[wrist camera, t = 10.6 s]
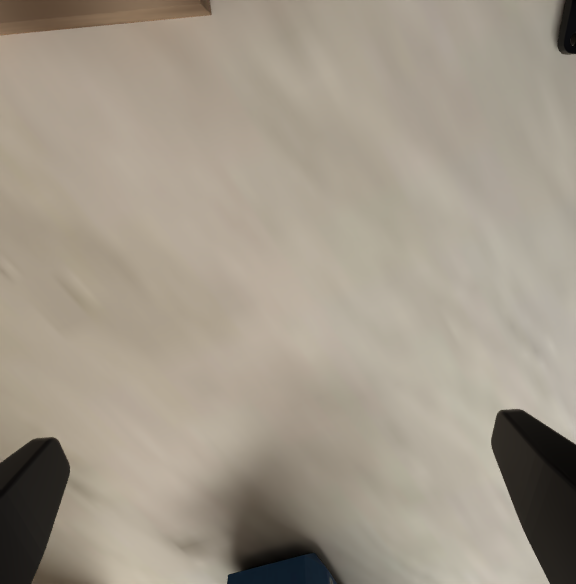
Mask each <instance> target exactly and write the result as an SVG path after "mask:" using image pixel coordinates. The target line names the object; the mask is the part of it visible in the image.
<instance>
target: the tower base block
mask: <svg viewBox="0 0 576 584" xmlns="http://www.w3.org/2000/svg"><path fill="white" fill-rule="evenodd" d="M206 15H211V8H210V1H209V0H0V35H9V34H20V33H30V32H40V31H51V30H61V29H71V28H82V27H92V26H102V25H113V24H123V23H134V22H144V21H154V20H165V19H175V18H185V17H196V16H206Z"/></svg>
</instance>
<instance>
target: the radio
mask: <svg viewBox="0 0 576 584" xmlns="http://www.w3.org/2000/svg"><path fill="white" fill-rule="evenodd" d="M227 584H337V583H336V581H335V580H334V578H333V577H332V575H331V574H330V572H329V571H328V569H327V568H326V567H325V565H324V564H323V563H322V562H321V560H320V559H319V558H318V557H317V555H316V554H315V553H311V554H306V555H302V556H298V557H294V558H291V559H287V560H283V561H279V562H275V563H271V564H267V565H264V566H260V567H256V568H252V569H248V570H244V571H240V572H237V573H233V574H229V575H228V581H227Z"/></svg>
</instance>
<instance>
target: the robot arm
mask: <svg viewBox="0 0 576 584" xmlns="http://www.w3.org/2000/svg"><path fill="white" fill-rule="evenodd" d="M574 33H575V34H576V0H566V3H565V8H564V13H563V18H562V23H561V28H560V33H559V38H558V49H559V51H560V52H561V53H562V54H566V55H569V54H576V43H575V44H574V45H573V46H572V45H571V44H570V39H571V37H572V35H573V34H574ZM491 445H492V450H493V453H494V455H495V458H496V461H497V463H498V466H499V468H500V471H501V474H502V476H503V479H504V482H505V484H506V487H507V489H508V492H509V495H510V497H511V500H512V503H513V505H514V508H515V510H516V513H517V516H518V518H519V520H520V523H521V525H522V528H523V530H524V532H525V534H526V536H527V538H528V540H529V543H530V545H531V547H532V549H533V551H534V553H535V555H536V557H537V559H538V561H539V563H540V565H541V567H542V569H543V571H544V573H545V575H546V577H547V579H548V581H549V583H550V584H576V444H574V443H573V442H571V441H570V440H568V439H567V438H565V437H563V436H562V435H560V434H559V433H557V432H556V431H554V430H553V429H551V428H550V427H548V426H546V425H545V424H543V423H542V422H540V421H539V420H537V419H536V418H534V417H533V416H531V415H529V414H528V413H526V412H525V411H523V410H520V409H510V410H501V411H499V412H498V413H497V416H496V420H495V425H494V429H493V434H492V438H491ZM69 474H70V465H69V462H68V460H67V458H66V455H65V453H64V451H63V449H62V447H61V445H60V443H59V441H58V440H57V439H56V438H53V437H48V438H36V439H33V440H31V441H30V442H28V443H27V444H26V445H24V446H23V447H22V448H20V449H19V450H18V451H16V452H15V453H13V454H12V455H11V456H9V457H8V458H7V459H5V460H4V461H2V462H1V463H0V584H31V583H32V580H33V578H34V576H35V573H36V571H37V569H38V566H39V564H40V561H41V559H42V556H43V554H44V551H45V548H46V546H47V543H48V540H49V537H50V534H51V531H52V528H53V524H54V521H55V518H56V515H57V512H58V509H59V506H60V503H61V500H62V497H63V494H64V490H65V487H66V484H67V481H68V478H69Z"/></svg>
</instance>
